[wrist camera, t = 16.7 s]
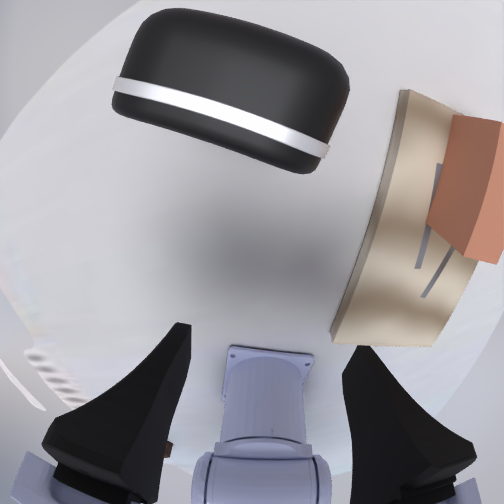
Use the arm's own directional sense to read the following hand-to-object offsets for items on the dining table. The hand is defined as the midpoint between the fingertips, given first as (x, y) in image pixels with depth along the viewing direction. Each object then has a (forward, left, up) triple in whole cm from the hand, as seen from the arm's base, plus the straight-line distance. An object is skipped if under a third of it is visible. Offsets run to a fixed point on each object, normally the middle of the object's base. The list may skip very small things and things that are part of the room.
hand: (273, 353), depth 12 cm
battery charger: (+10, +3, -10) cm, 15 cm away
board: (+3, -12, -10) cm, 16 cm away
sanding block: (+9, -12, -8) cm, 17 cm away
